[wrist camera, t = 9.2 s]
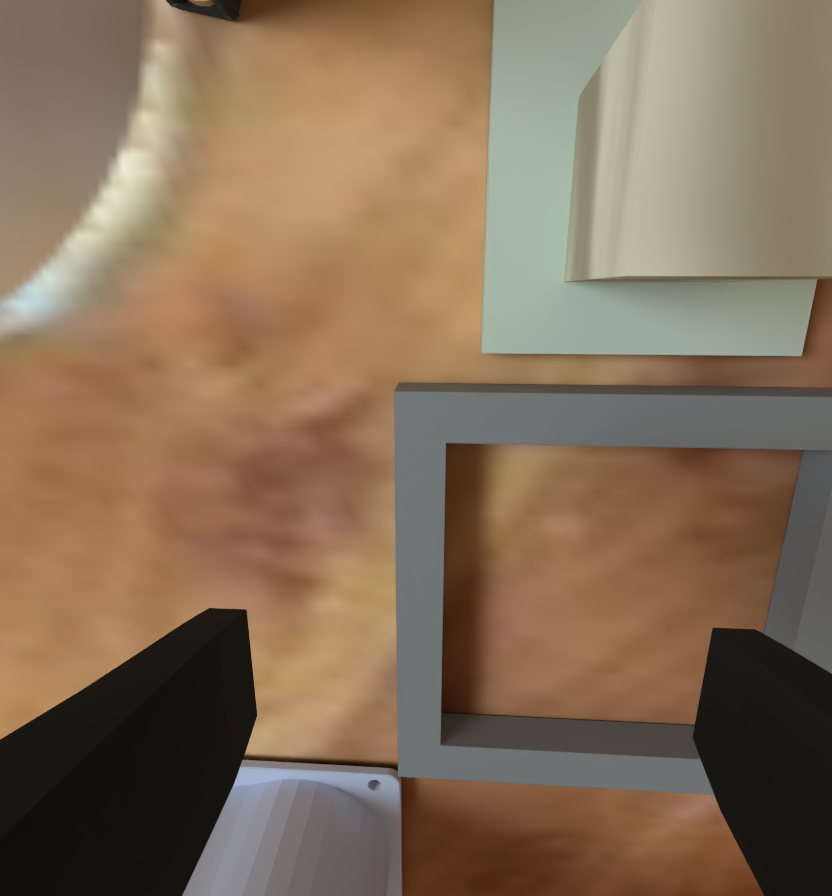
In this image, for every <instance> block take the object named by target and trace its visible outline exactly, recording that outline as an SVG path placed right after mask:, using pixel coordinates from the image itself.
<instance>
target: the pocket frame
mask: <svg viewBox="0 0 832 896" xmlns="http://www.w3.org/2000/svg"><path fill="white" fill-rule="evenodd" d="M394 420H395V521H396V623H397V725H398V777H412V778H430V779H447V780H465V781H482V782H500V783H517V784H534V785H552V786H569V787H587V788H604V789H621V790H639V791H656V792H674V793H691V794H708V795H714V793H713V790H712V788H711V785H710V783H709V780H708V778H707V775H706V772H705V770H704V767H703V764H702V762H701V759H700V756H699V754H698V751H697V748H696V745H695V743H694V740H693V732H694V727H695V726H693V725H673V724H653V723H633V722H613V721H593V720H573V719H553V718H533V717H513V716H493V715H472V714H452V713H441V695H442V641H443V587H444V533H445V480H446V443H473V444H526V445H578V446H630V447H682V448H735V449H787V450H803V455H802V460H801V464H800V469H799V473H798V478H797V483H796V487H795V492H794V497H793V501H792V506H791V510H790V515H789V520H788V524H787V529H786V533H785V538H784V543H783V547H782V552H781V557H780V561H779V566H778V570H777V575H776V580H775V584H774V589H773V593H772V598H771V603H770V607H769V612H768V617H767V621H766V626H765V630H764V634H765V635H767V636H768V637H770V638H772V639H774V640H776V641H778V642H779V643H781V644H783V645H785V646H786V647H788V648H790V649H791V650H793V651H795V652H797V653H798V654H800V655H802V656H803V657H805V658H807V659H808V660H810V661H812V662H813V663H815V664H817V665H818V666H820V667H821V668H823V669H825V670H826V671H828V672H830V673H831V674H832V388H785V387H704V386H623V385H542V384H461V383H399V384H398V386H397V387H396V389H395V391H394Z"/></svg>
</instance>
